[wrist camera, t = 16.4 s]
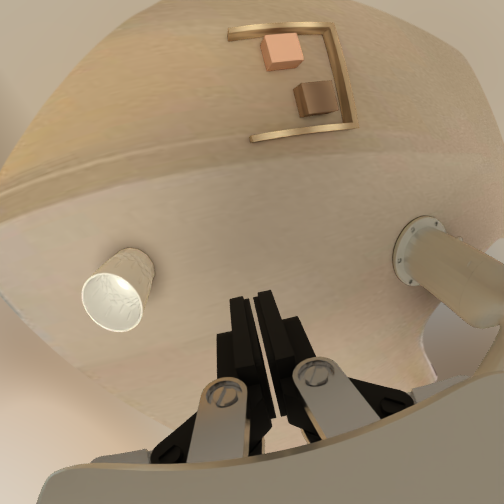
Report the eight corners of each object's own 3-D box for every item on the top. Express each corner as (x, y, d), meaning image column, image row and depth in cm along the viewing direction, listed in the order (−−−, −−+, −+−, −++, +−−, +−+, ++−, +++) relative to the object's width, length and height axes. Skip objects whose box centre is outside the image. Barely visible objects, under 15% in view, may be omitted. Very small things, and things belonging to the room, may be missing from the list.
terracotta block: (288, 43, 29) (296, 32, 26) (295, 68, 31) (304, 59, 27) (260, 46, 29) (264, 35, 26) (266, 71, 31) (272, 62, 27)
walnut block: (320, 86, 32) (331, 80, 28) (327, 113, 34) (339, 110, 30) (292, 89, 32) (301, 83, 28) (299, 117, 33) (309, 113, 30)
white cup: (160, 247, 37) (143, 279, 28) (157, 297, 40) (142, 337, 31) (108, 239, 36) (79, 267, 27) (109, 288, 39) (84, 325, 29)
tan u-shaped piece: (326, 30, 29) (333, 22, 26) (349, 129, 34) (359, 128, 32) (227, 36, 28) (228, 28, 25) (250, 142, 34) (252, 141, 31)
